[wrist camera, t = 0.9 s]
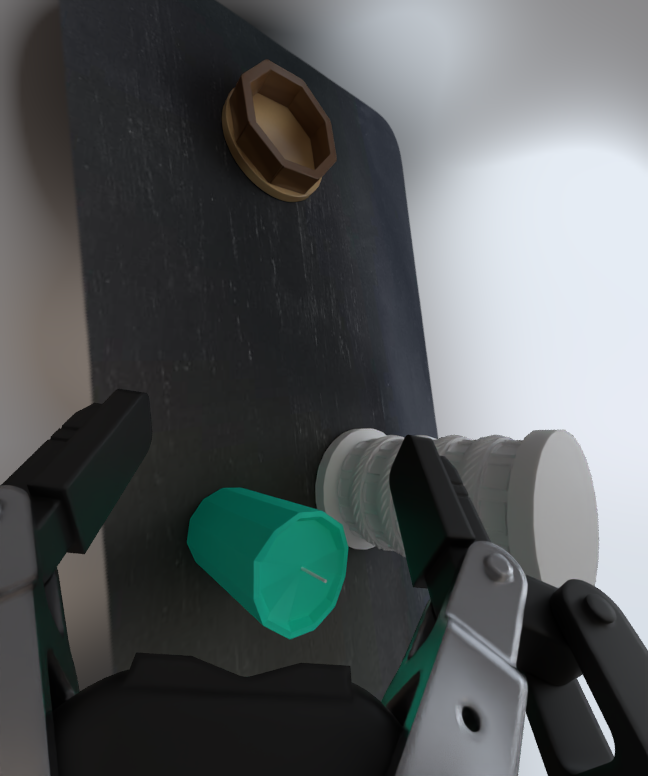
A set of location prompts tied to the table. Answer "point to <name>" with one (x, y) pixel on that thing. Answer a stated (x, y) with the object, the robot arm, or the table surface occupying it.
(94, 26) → the table surface
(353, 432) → the decorative container
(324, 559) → the candle
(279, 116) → the candle pad
